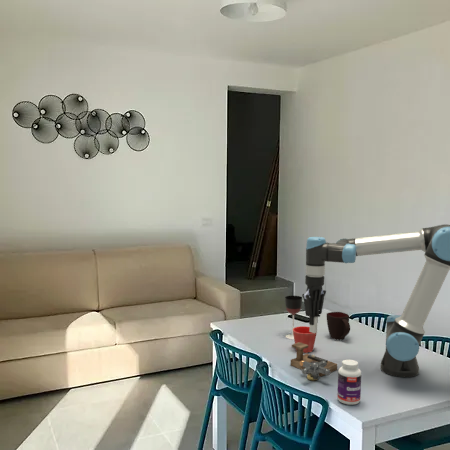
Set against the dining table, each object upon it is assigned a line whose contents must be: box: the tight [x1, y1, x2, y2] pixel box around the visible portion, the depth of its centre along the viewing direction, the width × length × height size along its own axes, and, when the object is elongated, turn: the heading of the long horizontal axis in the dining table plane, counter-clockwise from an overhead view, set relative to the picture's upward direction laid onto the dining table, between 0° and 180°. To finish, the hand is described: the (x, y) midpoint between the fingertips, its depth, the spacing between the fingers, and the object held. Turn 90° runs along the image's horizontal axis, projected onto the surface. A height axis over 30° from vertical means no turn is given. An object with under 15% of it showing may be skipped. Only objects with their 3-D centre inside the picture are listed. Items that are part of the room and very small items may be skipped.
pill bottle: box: [336, 359, 362, 406], centre depth 182 cm, size 8×8×14 cm
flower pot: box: [293, 325, 318, 354], centre depth 235 cm, size 11×11×10 cm
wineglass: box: [284, 295, 303, 340], centre depth 253 cm, size 8×9×20 cm
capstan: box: [300, 360, 331, 381], centre depth 201 cm, size 14×14×6 cm
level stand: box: [290, 342, 338, 377], centre depth 214 cm, size 16×11×9 cm
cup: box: [326, 311, 351, 341], centre depth 250 cm, size 10×14×12 cm
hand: (313, 332), depth 207 cm, fingers closed
